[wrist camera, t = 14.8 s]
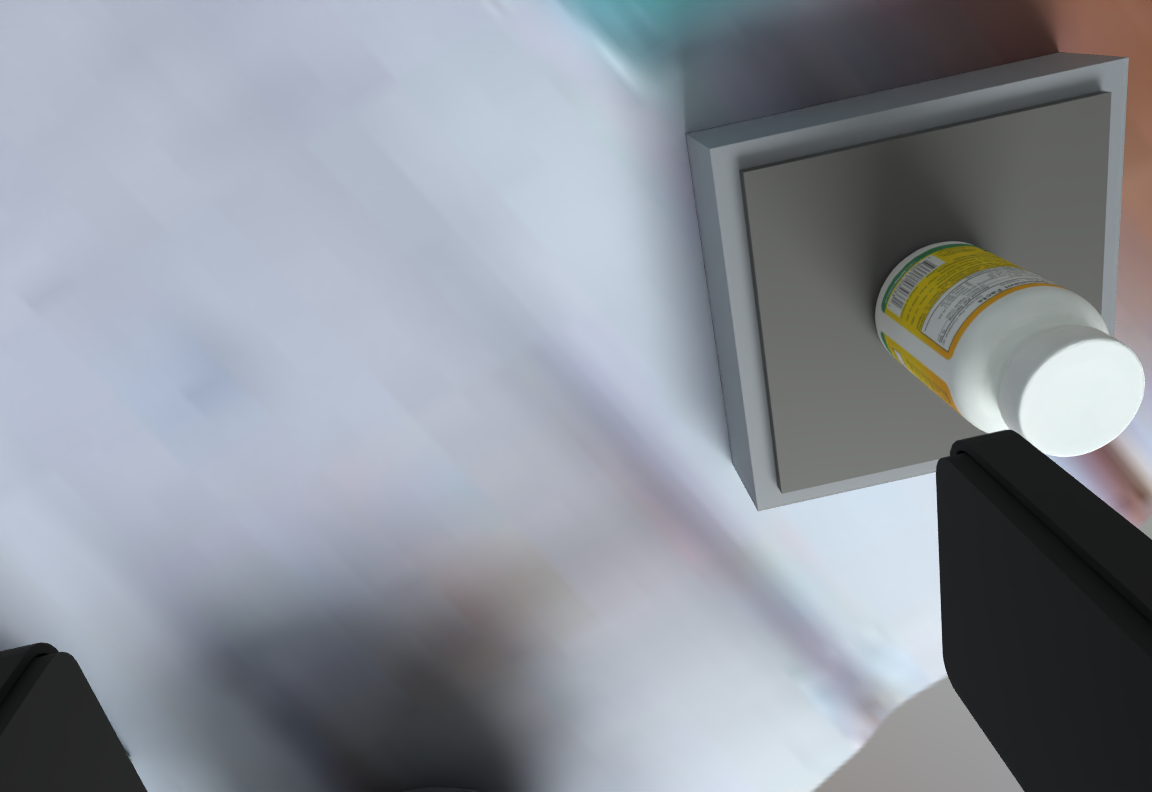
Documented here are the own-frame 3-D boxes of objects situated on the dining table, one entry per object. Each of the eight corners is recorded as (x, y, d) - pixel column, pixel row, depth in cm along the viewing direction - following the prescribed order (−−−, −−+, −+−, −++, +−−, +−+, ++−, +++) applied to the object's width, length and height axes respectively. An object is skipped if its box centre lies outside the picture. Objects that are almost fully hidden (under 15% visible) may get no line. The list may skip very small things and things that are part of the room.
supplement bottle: (873, 247, 35) (1005, 325, 26) (1006, 230, 35) (1182, 302, 26) (869, 375, 37) (990, 487, 28) (994, 358, 37) (1154, 464, 28)
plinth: (685, 133, 37) (713, 151, 33) (1059, 52, 37) (1139, 58, 33) (733, 465, 44) (761, 518, 39) (1052, 394, 44) (1117, 439, 39)
